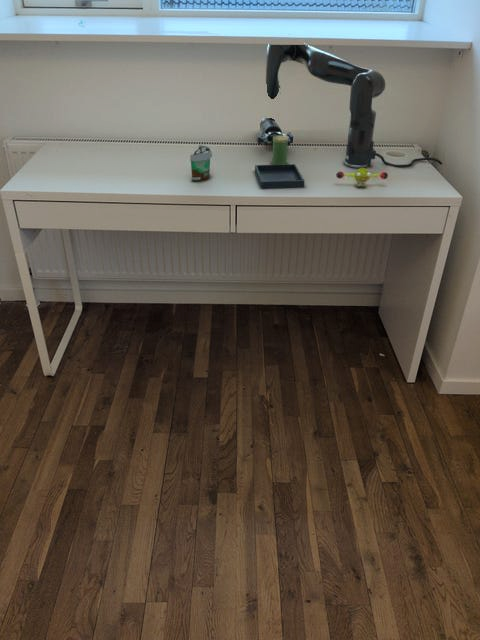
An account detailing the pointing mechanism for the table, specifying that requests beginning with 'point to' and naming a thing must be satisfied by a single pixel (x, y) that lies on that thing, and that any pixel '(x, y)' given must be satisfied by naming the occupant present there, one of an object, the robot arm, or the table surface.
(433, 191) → the table surface
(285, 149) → the green cup
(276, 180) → the dark grey shallow tray
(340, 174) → the toy figure
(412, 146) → the table surface
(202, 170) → the food container
